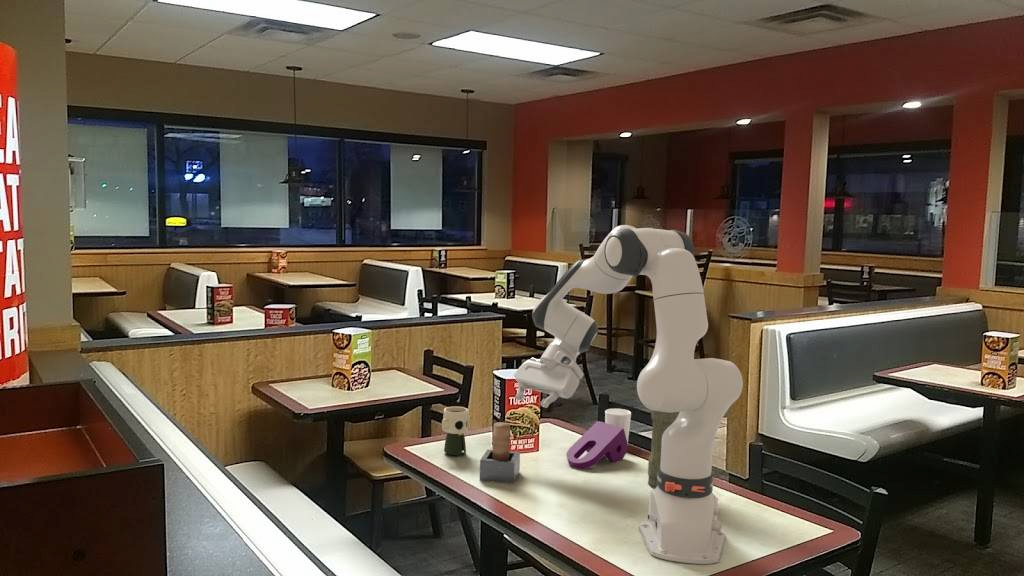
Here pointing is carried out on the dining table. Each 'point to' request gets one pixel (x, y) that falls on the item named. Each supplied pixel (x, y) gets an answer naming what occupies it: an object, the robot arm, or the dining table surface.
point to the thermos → (658, 442)
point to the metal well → (499, 468)
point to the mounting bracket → (598, 445)
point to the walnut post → (501, 441)
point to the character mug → (455, 429)
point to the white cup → (619, 419)
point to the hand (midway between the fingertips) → (530, 402)
